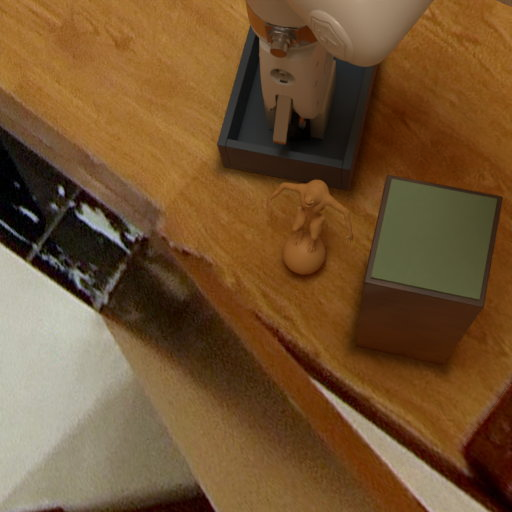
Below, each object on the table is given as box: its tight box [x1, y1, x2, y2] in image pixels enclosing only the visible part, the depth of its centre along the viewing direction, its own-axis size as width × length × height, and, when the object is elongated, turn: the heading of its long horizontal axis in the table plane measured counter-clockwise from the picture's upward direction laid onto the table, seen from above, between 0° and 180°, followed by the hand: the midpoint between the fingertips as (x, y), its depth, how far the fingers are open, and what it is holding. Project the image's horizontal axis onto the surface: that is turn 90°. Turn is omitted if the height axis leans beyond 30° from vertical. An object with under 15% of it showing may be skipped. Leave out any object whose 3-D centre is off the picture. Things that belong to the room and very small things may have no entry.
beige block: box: [264, 60, 336, 139], centre depth 82 cm, size 6×6×6 cm
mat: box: [371, 179, 497, 300], centre depth 58 cm, size 7×7×1 cm
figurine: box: [266, 180, 354, 276], centre depth 76 cm, size 8×6×12 cm
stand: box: [355, 174, 504, 366], centre depth 68 cm, size 8×8×22 cm
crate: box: [216, 24, 379, 192], centre depth 83 cm, size 13×15×5 cm
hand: (301, 104), depth 84 cm, fingers open, 5 cm apart
